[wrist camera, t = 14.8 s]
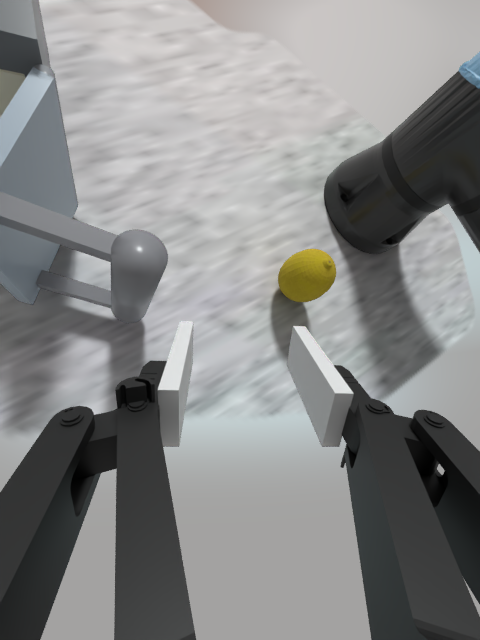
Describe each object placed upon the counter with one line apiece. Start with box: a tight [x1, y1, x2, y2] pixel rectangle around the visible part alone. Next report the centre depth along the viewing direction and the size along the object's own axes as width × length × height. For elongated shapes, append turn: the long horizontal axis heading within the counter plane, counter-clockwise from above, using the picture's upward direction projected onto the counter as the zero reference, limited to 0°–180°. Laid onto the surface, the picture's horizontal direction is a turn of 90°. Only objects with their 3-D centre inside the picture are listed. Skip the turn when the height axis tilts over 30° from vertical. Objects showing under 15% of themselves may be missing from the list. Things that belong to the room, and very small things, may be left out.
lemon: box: [278, 249, 336, 302], centre depth 31 cm, size 6×6×8 cm
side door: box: [0, 64, 168, 323], centre depth 20 cm, size 10×10×12 cm
